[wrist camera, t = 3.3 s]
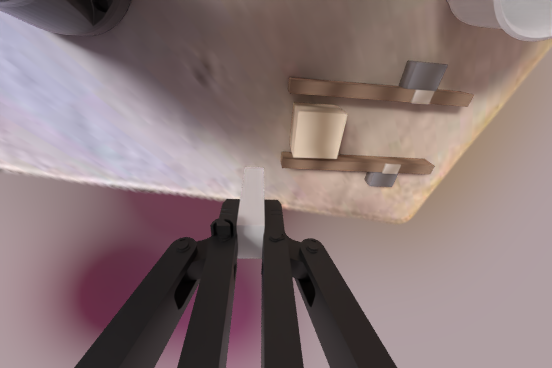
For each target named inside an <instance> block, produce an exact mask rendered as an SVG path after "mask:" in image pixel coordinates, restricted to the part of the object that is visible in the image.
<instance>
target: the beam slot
mask: <svg viewBox="0 0 552 368" xmlns="http://www.w3.org/2000/svg"><path fill="white" fill-rule="evenodd" d="M447 66H448V65H446V64H437V63H426V62H416V61H408V62H407V64H406V67H405V70H404V73H403V75H402V78H401V81H400V84H399V86H390V85H378V84H366V83H353V82H341V81H329V80H317V79H305V78H293V77H289V84H288V91H289V92H290V93H293V94H306V95H319V96H332V97H346V98H359V99H372V100H385V101H399V102H410V103H414V104H427V105H429V104H438V105H452V106H465V107H468V105H469V103H470V102H471V100H472V98H473V96H474V95H473V94H469V93H465V92H460V91H450V90H438V89H437V88H438V86H439V83H440V81H441V79H442V77H443V75H444V73H445V70H446V68H447ZM281 165H282V168H295V169H318V170H342V171H365V172H367V174H366V177H365V181H366V182H367V184H368V185H369V186H380V187H392V186H393V184H394V182H395V180H396V177H397V175H398V173H412V174H431V172H432V170H433V168H434V167H435V166H434V165H433V164H431V163H430V162H428V161H427V160H425V159H417V158H397V157H377V156H356V155H338V156H337V159H326V158H297V157H293V155H292V152H282V153H281Z"/></svg>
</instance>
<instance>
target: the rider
mask: <svg viewBox="0 0 552 368" xmlns="http://www.w3.org/2000/svg"><path fill="white" fill-rule="evenodd" d="M347 115H348V114H347V113H346V112H344V111H343V110H342V109H341V108H339V107H338V106H337V105H332V104H315V103H297V102H294V103H293V112H292V122H291V131H290V141H289V144H290V148H291V151H292V155H293V157H297V158H326V159H337V156H338V152H339V148H340V144H341V139H342V135H343V131H344V127H345V123H346V119H347Z"/></svg>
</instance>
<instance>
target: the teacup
mask: <svg viewBox="0 0 552 368" xmlns="http://www.w3.org/2000/svg"><path fill="white" fill-rule="evenodd" d="M447 2H448V3H449V6H450V8H451V11H452V12H453V14H454V15H455V16H456V18H457V19H459V20H460V21H462V22H464V23H466V24H469V25H473V26H478V27H485V28H496V29H503V30H504V31H505V32H506V33H507V34H508V35H510V36H511V37H513V38H516V39H518V40H523V41H541V40H546V39H550V38H552V0H447Z"/></svg>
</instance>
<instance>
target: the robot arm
mask: <svg viewBox="0 0 552 368" xmlns="http://www.w3.org/2000/svg"><path fill="white" fill-rule="evenodd" d="M130 1H131V0H0V11H3V12H5V13H7V14H9V15H11V16H14V17H16V18H18V19H20V20H22V21H24V22H27V23H29V24H31V25H33V26H36V27H38V28H41V29H44V30H47V31H50V32H54V33H58V34H64V35H77V36H92V35H97V34H101V33H104V32H106V31H108V30H110V29H111V28H113V27H114V26H115V25H117V24H118V23H119V22H120V20H121V19H122V18H123V16H124V15H125V13H126V11H127V9H128V7H129V5H130ZM210 226H211V235H212V236H211V237H209V238H207V239H205V240H202V241H198V242H196V241H195V240H194V239H192V238H190V237H189V238H188V237H184V238H180V239H178V240H176V241H174V242H173V243H172V244H171V245H170V247H169V248H168V249H167V250H166V252H165V253H164V254H163V255H162V257H161V258H160V259H159V261H158V262H157V263H156V264H155V266H154V267H153V268H152V269H151V271H150V272H149V273H148V275H147V276H146V277H145V278H144V280H143V281H142V282H141V284H140V285H139V286H138V287H137V289H136V290H135V291H134V292H133V294H132V295H131V296H130V298H129V299H128V300H127V301H126V303H125V304H124V305H123V306H122V308H121V309H120V310H119V311H118V313H117V314H116V315H115V317H114V318H113V319H112V320H111V322H110V323H109V324H108V325H107V327H106V328H105V329H104V331H103V332H102V333H101V335H100V336H99V337H98V338H97V339H96V341H95V342H94V343H93V345H92V346H91V347H90V349H89V350H88V351H87V352H86V353H85V355H84V356H83V357H82V359H81V360H80V361H79V362H78V364H77V365H76V366H75V367H74V368H154V367H155V365H156V363H157V361H158V360H159V358H160V356H161V354H162V352H163V350H164V348H165V346H166V345H167V343H168V341H169V339H170V337H171V335H172V333H173V331H174V329H175V328H176V326H177V324H178V322H179V320H180V318H181V316H182V314H183V313H184V311H185V309H186V307H187V305H188V303H189V301H190V299H191V297H192V295H193V294H194V292H195V290H196V288H197V286H198V284H199V287H198V291H197V295H196V299H195V302H194V306H193V310H192V314H191V318H190V321H189V325H188V329H187V333H186V337H185V340H184V344H183V348H182V352H181V356H180V359H179V363H178V367H177V368H226V361H227V352H228V343H229V333H230V325H231V316H232V307H233V298H234V289H235V280H236V272H237V258H256V259H257V258H258V259H262V271H261V274H262V318H261V321H262V322H261V324H262V325H261V327H262V329H261V334H262V335H261V368H304V367H303V359H302V351H301V343H300V335H299V327H298V319H297V312H296V304H295V296H294V288H293V281H292V277H294V278H295V281H296V283H297V286H298V288H299V291H300V293H301V295H302V298H303V301H304V303H305V306H306V308H307V311H308V313H309V316H310V318H311V321H312V323H313V326H314V328H315V331H316V333H317V336H318V338H319V341H320V343H321V346H322V348H323V351H324V353H325V356H326V358H327V361H328V363H329V366H330V368H397V367H396V365H395V363H394V362H393V360H392V359H391V357H390V356H389V354H388V352H387V350H386V349H385V347H384V345H383V344H382V342H381V341H380V339H379V337H378V336H377V334H376V332H375V330H374V329H373V327H372V325H371V324H370V322H369V320H368V319H367V317H366V316H365V314H364V312H363V311H362V309H361V307H360V306H359V304H358V302H357V301H356V299H355V297H354V296H353V294H352V292H351V291H350V289H349V287H348V286H347V284H346V282H345V281H344V279H343V278H342V276H341V274H340V273H339V271H338V269H337V268H336V266H335V264H334V263H333V261H332V259H331V258H330V256H329V254H328V253H327V251H326V250H325V248H324V246H323V245H322V244H321V242H319V241H318V240H315V239H305V240H303V241H302V242H298V241H295V240H292V239H291V238H289V237H288V236H287V235H286V233H285V231H284V223H283V215H282V206H281V204H280V202H279V201H278V200H264V167H245V170H244V177H243V184H242V191H241V197H240V199H226V201H225V202H224V203H223V205H222V208H221V212H220V216H219V219H216V220H215V221H213V222H212V224H211V225H210ZM199 282H200V283H199Z"/></svg>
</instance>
